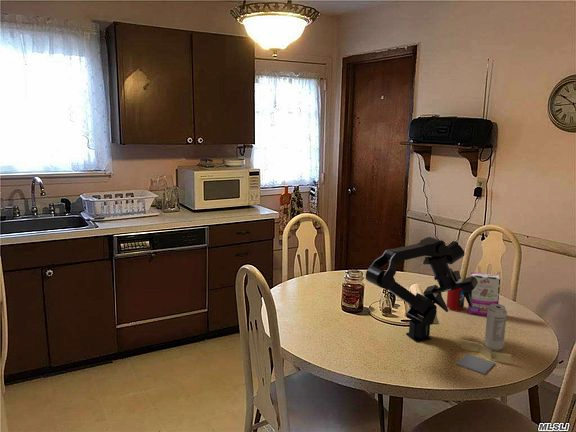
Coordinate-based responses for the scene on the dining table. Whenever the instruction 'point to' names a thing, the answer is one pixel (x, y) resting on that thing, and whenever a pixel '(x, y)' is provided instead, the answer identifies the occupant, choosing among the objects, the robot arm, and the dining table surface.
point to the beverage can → (455, 298)
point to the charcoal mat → (475, 364)
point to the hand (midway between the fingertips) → (459, 309)
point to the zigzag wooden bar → (486, 352)
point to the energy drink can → (495, 327)
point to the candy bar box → (484, 293)
